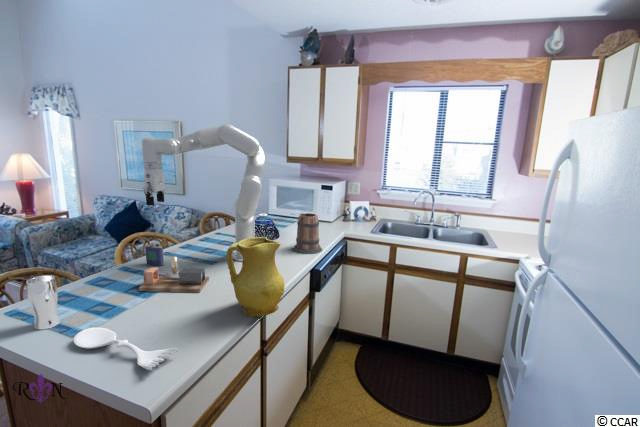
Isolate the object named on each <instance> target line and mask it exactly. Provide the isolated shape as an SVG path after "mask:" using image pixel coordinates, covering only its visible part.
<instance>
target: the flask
mask: <svg viewBox="0 0 640 427" xmlns="http://www.w3.org/2000/svg"><path fill="white" fill-rule="evenodd" d="M156 243H157V242H151V243H150V244H145V261H146V265H147V266H153V267H154V266H155V267H156V266H157V267H163V266H164V265H165V262H164V261H165V260H164V247H163V246H157V245H156Z"/></svg>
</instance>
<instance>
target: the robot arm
mask: <svg viewBox="0 0 640 427" xmlns="http://www.w3.org/2000/svg"><path fill="white" fill-rule="evenodd" d="M223 145H228V146H229V147H231V148H232V149H235V150H236V151H238V152H240V153H242V154H244V155H245V156H247V157H246V158H247V162H246V165H245V166H246V167H245V170H244V174H243V178H242V180H241V183H240V189H239V192H238V197H237V199H236V201H235V203H234V220H235V222H234V227H235V233H234V234H235V243H238V242H239V241H241V240H243V239H247V238H253V237H255V235H256V234H255V232H256V231H255V230H256V229H255V224H256V223H255V220H256V218H255V216H256V215H255V214H256V212H257V209H258V205H259V202H260V199H261V195H262V190H263V183H262V178H263V174H264V170H265V165H266V156H265V152H264V150H263V148H262V146H261V145H260V142H259V140H257V139H256V138H255V137H253V136H251V135H249V134H248V133H246V132H244V131H243V130H241V129H239V128H237V127H235V126H234V125H232V124H230V123H224V124H222V125H219V126H214V127H210V128H209V127H208V128H205V129H199V130H196V131H194V132H192V133H190V134H186V135H182V136H178V137H166V138H155V137H154V138H153V137H143V138H142V140H141V147H142V161H143V170H144V176H143V177H144V180H143V181H144V186H143V192H144V197H145V202H146V206H152V207H153V206H155V197H154V193H156V201H157V203H158V202H159V203H164V202H165V189H166V183H165V181H166V180H165V174H164V171H163V157H162V155H165V156H174V155H179V154H183V153H187V152H192V151H198V150H200V151H201V150H206V149H210V148H214V147H219V146H223ZM232 257H233V261H238V262H243V256H242V255H241V254H240V252H239V251H236V250H235V253H233V254H232Z"/></svg>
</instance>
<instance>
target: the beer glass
mask: <svg viewBox="0 0 640 427" xmlns="http://www.w3.org/2000/svg"><path fill="white" fill-rule="evenodd" d="M25 282H26V284H25V285H26V296H27V300H28V303H29V306H30V309H31V311H32V313H33V316H34V324H33V325H34V329H35V330H38V331H42V330H48V329H51V328H54V327H56V326H58V325H59V324H60V322H61V320H60V318H59V314H58V297H59V296H58V292H59V291H58V287H57V286H58V285H57V281H56V279H55V276H54V275H53V274H46V275H38V276H33V277H32V278H30V279H27V280H26V281H25Z"/></svg>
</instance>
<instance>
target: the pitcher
mask: <svg viewBox="0 0 640 427" xmlns="http://www.w3.org/2000/svg"><path fill="white" fill-rule="evenodd" d="M281 245H282V244H281V243H280V242H279V241H276V240H268V239H267V236H266V237H265V236H264V237H263V236H261V237H260V236H259V237H257V236H256V237H253V238H247V239H243V240H241V241H239V242H238V243H236V242H233V243H232V244H230V246H229V247H228V248H227V250H226V259H227V263H226V264H227V266H228V267H227V268H228V271H229V275H230V282H231V284H232V285H233V290H234V293H235V298H236V301H237V302H238V304H239V305H241V306H242V309H241V310H242V311H243V313H244V314H245V315H247V316H248V317H249V316H250V317H253V318H254V317H257V318H260V317H264V316H265V317H266V316H268V315H271V314H274V313H276V312H277V311H278V309H279V305H278V304H279V303H280V302H281V301H282V300H283V299H282V297H283V296H284V295H285V294H284V293H285V280H284V278H283V275H282V274H281V273H280V271H279V269H278V267H277V264H276V258H275V257H276V252H277V250H278V249H279V248H280V246H281ZM234 251H235V252H236V251H239V252H240V254H241V255H242V256H243V261H241V263H242V264H241V268H240V271H239V273H237V271H236V266H235V262H234V259H233V253H234Z"/></svg>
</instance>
